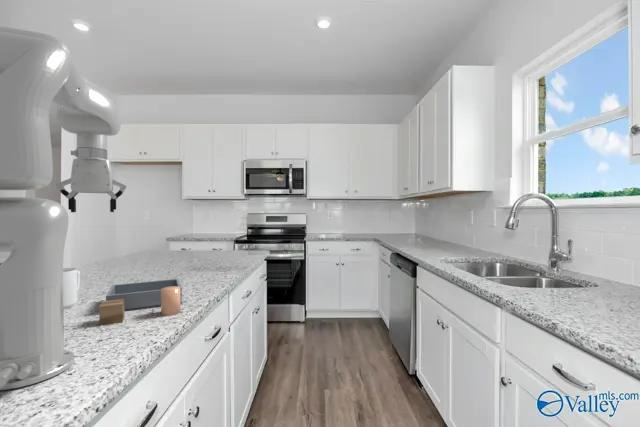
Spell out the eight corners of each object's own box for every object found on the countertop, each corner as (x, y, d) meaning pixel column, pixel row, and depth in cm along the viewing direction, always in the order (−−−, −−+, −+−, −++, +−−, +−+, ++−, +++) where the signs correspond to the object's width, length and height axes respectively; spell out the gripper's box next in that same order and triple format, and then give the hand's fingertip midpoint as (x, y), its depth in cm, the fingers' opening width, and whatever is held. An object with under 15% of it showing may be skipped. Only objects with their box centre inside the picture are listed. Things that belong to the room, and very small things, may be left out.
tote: (178, 292, 111) (178, 278, 111) (181, 303, 98) (181, 287, 98) (112, 300, 101) (112, 285, 101) (106, 313, 89) (105, 296, 88)
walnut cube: (122, 322, 82) (122, 303, 82) (99, 326, 79) (99, 306, 79) (124, 317, 86) (124, 298, 86) (102, 320, 84) (102, 301, 84)
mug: (62, 311, 90) (61, 273, 90) (31, 312, 90) (30, 273, 90) (92, 299, 102) (91, 265, 102) (64, 300, 102) (64, 266, 102)
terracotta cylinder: (181, 314, 88) (180, 289, 88) (161, 316, 86) (161, 291, 86) (179, 309, 93) (179, 285, 93) (161, 311, 90) (160, 287, 90)
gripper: (52, 151, 88) (53, 212, 88) (125, 156, 96) (125, 212, 96) (59, 155, 94) (60, 212, 95) (126, 159, 103) (127, 211, 103)
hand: (93, 212), depth 95 cm, fingers open, 9 cm apart
